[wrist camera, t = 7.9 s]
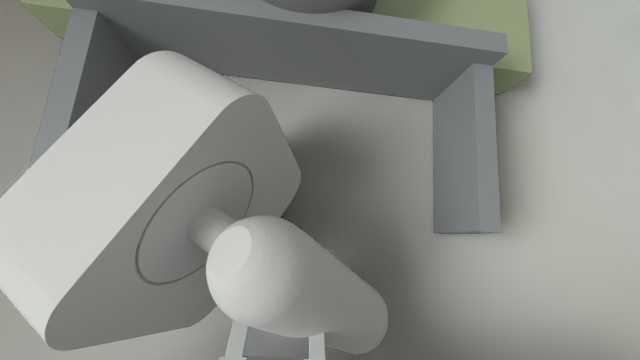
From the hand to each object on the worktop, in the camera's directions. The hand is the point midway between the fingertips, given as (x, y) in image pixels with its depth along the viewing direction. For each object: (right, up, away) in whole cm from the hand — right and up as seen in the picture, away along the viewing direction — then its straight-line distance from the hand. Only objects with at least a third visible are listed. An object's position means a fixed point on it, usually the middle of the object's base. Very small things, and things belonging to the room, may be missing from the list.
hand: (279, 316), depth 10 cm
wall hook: (-1, +1, +5) cm, 5 cm away
